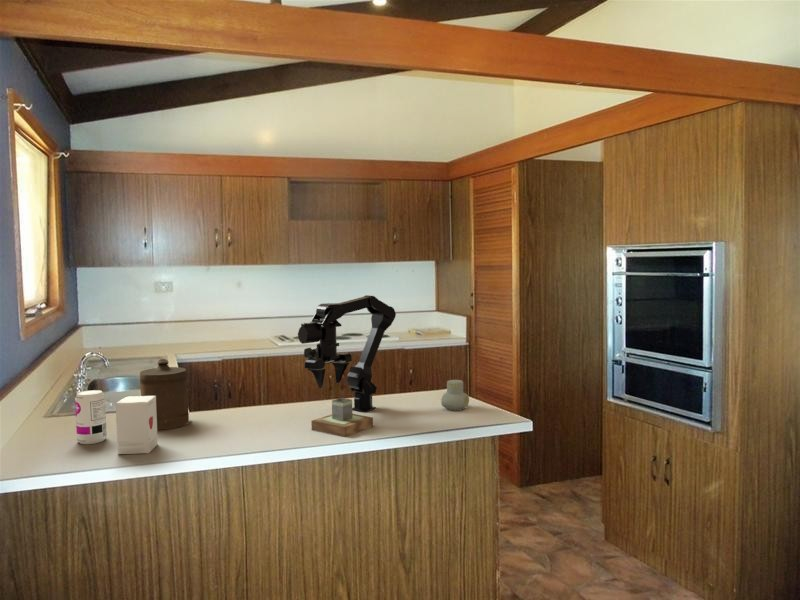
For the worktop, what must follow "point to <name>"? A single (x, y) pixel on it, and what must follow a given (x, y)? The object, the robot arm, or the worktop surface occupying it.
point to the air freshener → (455, 396)
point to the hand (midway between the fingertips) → (329, 385)
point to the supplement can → (90, 417)
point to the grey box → (342, 409)
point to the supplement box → (136, 424)
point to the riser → (342, 425)
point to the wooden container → (167, 394)
